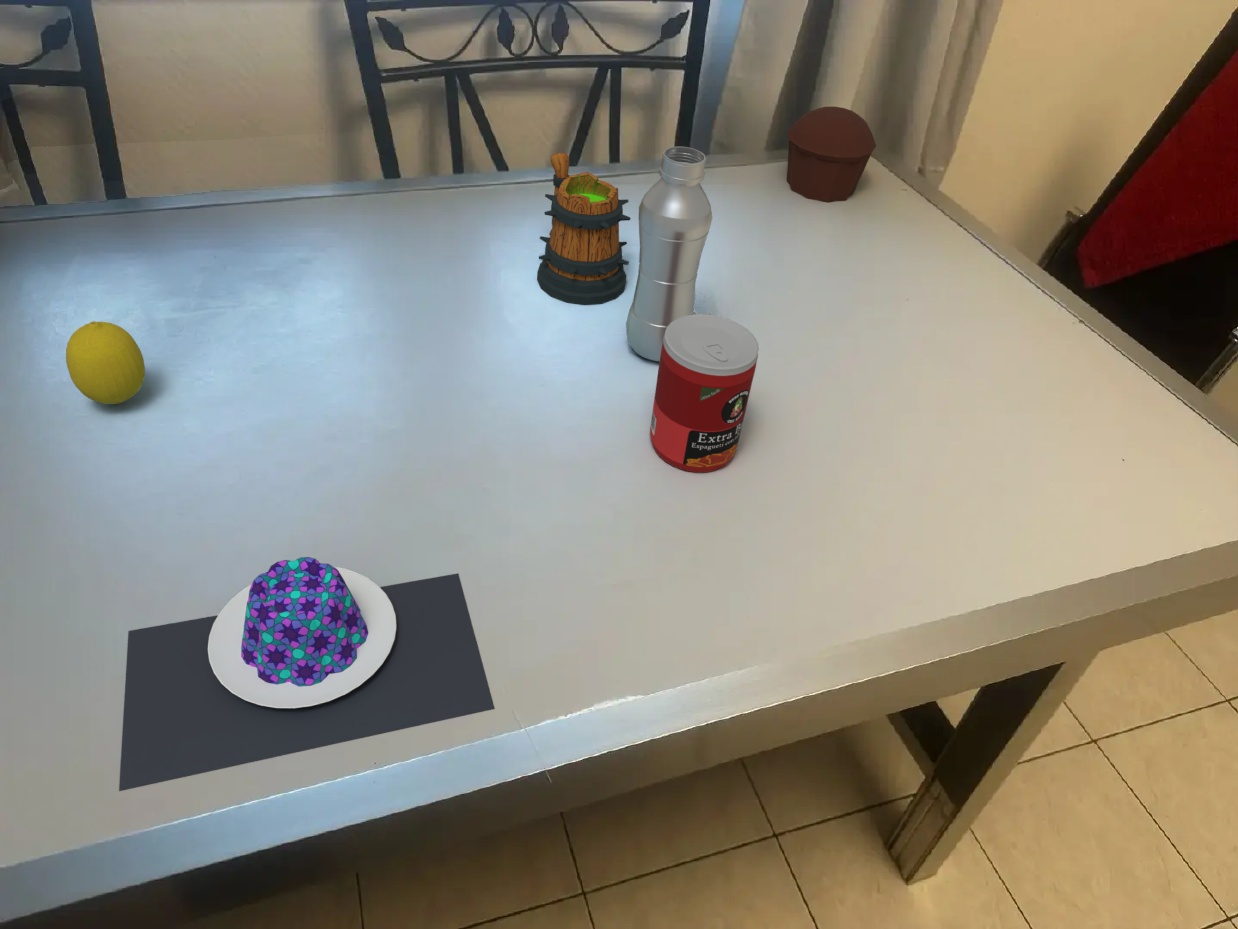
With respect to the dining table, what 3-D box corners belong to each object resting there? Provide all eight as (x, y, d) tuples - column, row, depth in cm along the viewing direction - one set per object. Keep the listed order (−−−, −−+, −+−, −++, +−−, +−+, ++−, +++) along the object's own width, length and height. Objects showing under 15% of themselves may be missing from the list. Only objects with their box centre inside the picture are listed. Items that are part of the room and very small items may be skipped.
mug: (645, 296, 101) (658, 194, 94) (558, 313, 97) (564, 208, 90) (591, 239, 110) (599, 142, 102) (509, 253, 105) (510, 152, 98)
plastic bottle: (680, 377, 91) (713, 178, 78) (613, 358, 92) (635, 160, 79) (698, 342, 96) (732, 150, 82) (634, 325, 97) (658, 133, 84)
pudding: (393, 709, 61) (388, 658, 57) (194, 721, 59) (176, 669, 55) (399, 569, 69) (395, 517, 66) (226, 575, 67) (212, 523, 64)
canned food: (691, 487, 79) (711, 380, 72) (629, 435, 83) (643, 329, 76) (755, 454, 83) (780, 349, 76) (693, 406, 88) (711, 303, 80)
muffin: (817, 162, 132) (834, 89, 126) (880, 193, 127) (901, 119, 120) (758, 180, 126) (773, 104, 120) (822, 214, 120) (841, 137, 114)
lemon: (78, 426, 78) (49, 345, 72) (86, 386, 82) (59, 306, 76) (152, 419, 79) (128, 339, 74) (156, 380, 83) (134, 301, 78)
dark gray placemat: (119, 791, 55) (118, 791, 55) (128, 631, 63) (128, 630, 63) (494, 709, 61) (494, 708, 61) (458, 574, 70) (458, 573, 70)
